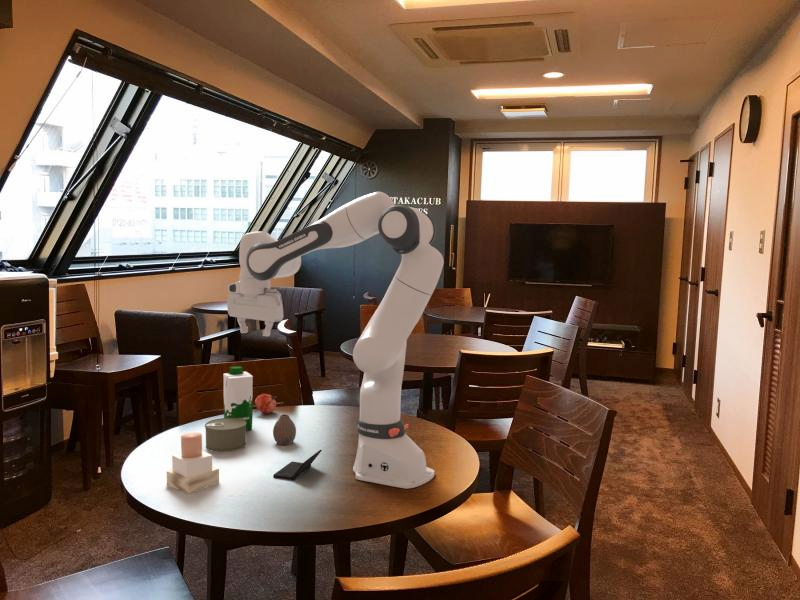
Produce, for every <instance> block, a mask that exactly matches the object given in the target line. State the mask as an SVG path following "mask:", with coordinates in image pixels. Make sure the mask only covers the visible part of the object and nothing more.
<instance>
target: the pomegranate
mask: <svg viewBox="0 0 800 600" xmlns="http://www.w3.org/2000/svg"><path fill="white" fill-rule="evenodd" d="M275 399H277V396H276V395H274V396H272V395H271V394H268V393H261V394H260V395H257V397H256V398H255V400H254V404H255V405H256V410H255V411H254V413H256V412H260V413H261V414H262V415H269V414H270V413H272V412H274V410H276V406H277V401H276V400H275Z"/></svg>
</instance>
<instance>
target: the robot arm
mask: <svg viewBox="0 0 800 600" xmlns="http://www.w3.org/2000/svg"><path fill="white" fill-rule="evenodd" d="M378 234H380V236H381V238H382V239H383V240H384V241H385V243H386V244H387V245H388V246H389V247H390V248H391V249H392V250H393V251H394V252H395V253H396V254H397V255H401V260H400V263H399V266H398V267H397V270H396V271H395V274H394V276H393V278H392V279H391V282H390V284H389V286H388V288H387V290H386V292H385V294H384V297H382V300H381V301H380V303H379V305H378V307H377V308H376V310H375V311H374V313H373V315H372V316H371V317H370V319H369V321H368V323H367V325H366V326H365V328H364V329H363V330H362V333H361V335H360V336H359V337H358V340H357V341H356V343H355V345H354V347H353V350H352V359H353V361H354V364H355V366H356V367H357V368H358V369H359V370H360V371H361V372H363V378H362V380H361V381H362V382H361V386H360V389H359V417H358V419H357V433H358V444H357V450H356V456H355V460H354V463H353V467H352V471H353V472H354V473H355V479H356V480H359V481H364V482H367V483H368V482H370V483H374V484H379V485H384V486H389V487H395V488H400V489H405V490H406V489H413V488H417V487H421V486H423V485H424V484H426V483H428V482H429V481H431V480H432V479H433V478H434V477H435V470H434V469H433V468H430V467H428V466H427V460H426V456H425V452H424V450H422V449H421V448H420V446H418V445H417V444H416V443H415V441H414V440H412V439H411V438H410V437H409V436H408V435H407V433H406V432H407V431H406V429H408V428H409V425H410V424H409V423H405V424H404V422H403V419H402V418H401V405H402V403H401V399H402V398H401V397H402V386H403V385H402V384H403V378H404V370H405V363H406V353H407V341H408V339H409V337H410V335H411V333H412V332H413V330H414V328H415V327H416V325H417V324H418V323H419V321H420V319H421V317H422V315H423V313H424V311H425V309H426V307H427V305H428V304H429V301H430V299H431V297H432V295H433V294H434V291H435V289H436V287H437V285H438V283H439V280H440V278H441V277H440V276H441V274H442V271H443V266H444V256H443V254H442V253H441V252H440V251H439V250H438V249H437V248H436V247H434V246H432V245H431V244H432V243H433V242H434V240H435V238H436V236H437V228H436V225H435V222H434V220H433V219H432V217H431V216H430V215H429V214H427V213H425V212H423V211H421V210H419V209H418V208H415V207H412V206H408V205H404V204H398V205H397V204H396V205H395V203H394V201H393V199H392V198H391V197H390V196H389V195H388V194H387V193H385V192H382V191H375V192H372V193H367V194H364V195H362V196H359V197H357V198H355V199H353V200H351V201H349V202H347V203H344V204H343V205H341V206H340V207H338V208H336V209H335V210H333V211H332V212H330V213H328V214H327V215H324V217H322V218H320V219H318V220H317V221H315V222H314V223H312V224H310V225H308V226H306V227H304V228H301V229H300V230H297V231H295V232H294V233H291V234H288V235H287V236H285V237H282V238H281V239H277V238H275V237H273V236H272V235H270V233H269V232H267V231H264V230H262V231H261V230H259V231H258V230H257V231H250V232H247V233H245V234H243V235H242V237H241V239H240V242H239V254H238V256H239V257H238V258H239V261H238V262H239V265H240V272H239V278H238V279H239V280H238V281H235V282H233V283H230V284H228V285H227V292H228V294H227V302H226V303H227V314H228V315H229V317H233V318H236V320H237V321H236V322H237V323H238V325H239V329H240V330H239V331H240V333H241V334H247V333H248V332H249V326H247V323H246V320H257V321H263V322H264V325H265V328H264V329H262V331H261V333H262V336H263V337H270V336H271V331H272V329H273V326H274V323H276V322H277V323H278V322H281V321H282V320H283V319H284V307H283V299H282V294H281V292H280V291H278V289H276V288H274V289H273V288H271V280H272V279H281V278H287V277H291V276H294V275H296V273H297V272H299V270H300V269H301V266H302V260H303V259H302V256H304V255H307V254H309V253H310V252H311V253H312V252H314V251H318V250H319V251H320V250H326V249H341V248H346V247H350V246H351V247H352V246H354V245H357V244H359V243H362V242H365V241H366V240H368V239H370V238H371V237H375V236H376V235H378Z"/></svg>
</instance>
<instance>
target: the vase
mask: <svg viewBox="0 0 800 600" xmlns="http://www.w3.org/2000/svg"><path fill="white" fill-rule="evenodd" d="M296 435H297V427H296V425H295V423H294V421H293V420H292V418H291V417H290V415H289V414H286V413H285V414H284V413H282V414H281V415H280V416H279V418H278V419H277V421H276V422H275V423H274V425H273V429H272V436H273V440H274V441H275V442H276V444H277V445H280V446H289V445H291V444H292V443H293V442H294V441H295V439H296Z"/></svg>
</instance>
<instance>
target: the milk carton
mask: <svg viewBox="0 0 800 600" xmlns="http://www.w3.org/2000/svg"><path fill="white" fill-rule="evenodd" d="M253 378H254V376H253V375H252V374H251V373H249V372H248V371H243V366H240V365H233V366H229V372H226V373H223V418H239V419H243V420H245V421H246V432H247V431H252V430H253V415H254V414H253V412H254V411H253V410H254V409H253V408H254V407H253V405H254V404H253V403H254V401H253V399H254V398H253V391H254V390H253V383H254V381H253V380H254V379H253Z"/></svg>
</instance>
